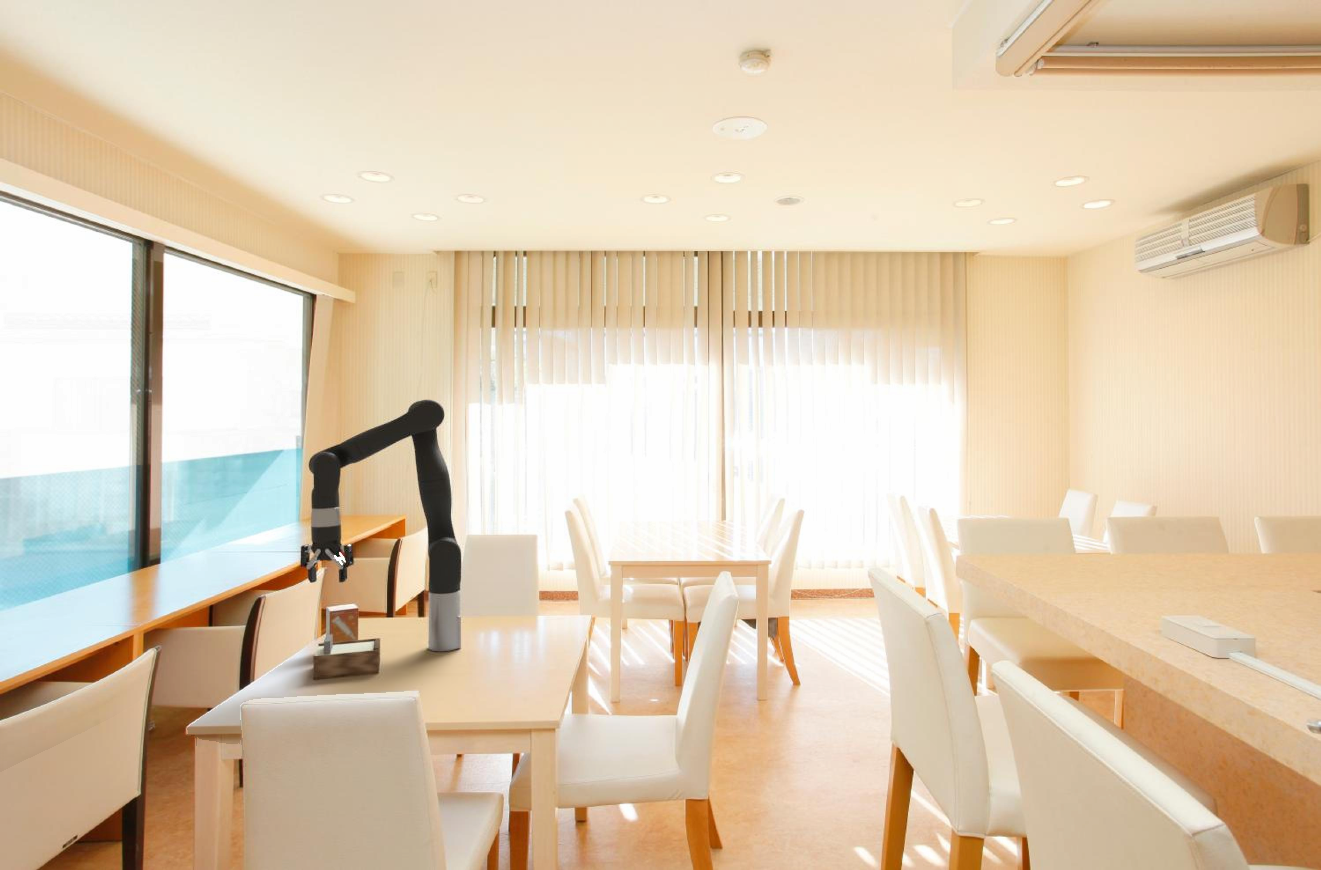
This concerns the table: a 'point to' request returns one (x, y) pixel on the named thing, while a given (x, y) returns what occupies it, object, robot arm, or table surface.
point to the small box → (342, 622)
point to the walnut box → (348, 662)
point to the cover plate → (342, 647)
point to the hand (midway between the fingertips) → (327, 582)
